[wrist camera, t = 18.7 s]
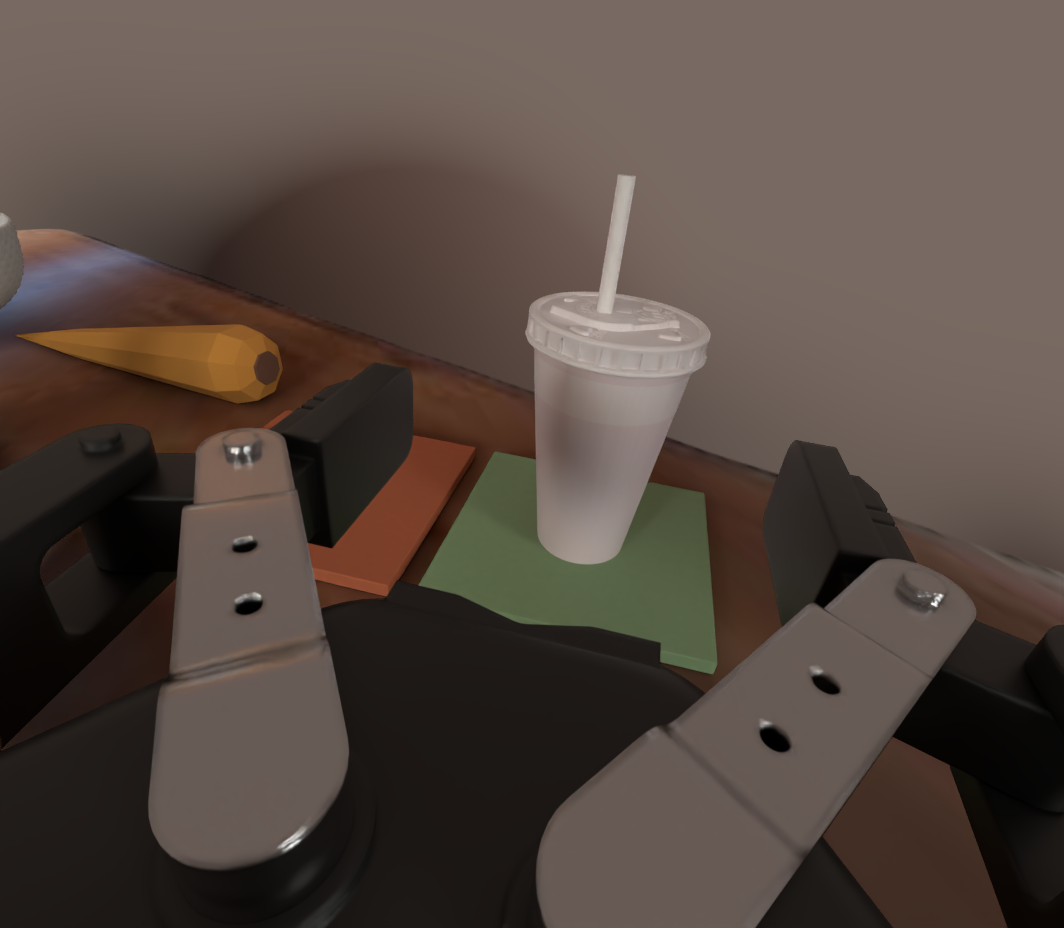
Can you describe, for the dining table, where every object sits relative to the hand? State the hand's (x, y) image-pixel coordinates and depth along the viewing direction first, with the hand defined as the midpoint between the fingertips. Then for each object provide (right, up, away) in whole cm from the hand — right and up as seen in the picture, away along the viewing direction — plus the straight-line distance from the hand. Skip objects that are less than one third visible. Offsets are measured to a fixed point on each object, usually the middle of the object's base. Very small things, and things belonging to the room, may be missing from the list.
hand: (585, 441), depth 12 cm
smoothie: (+1, -4, +13) cm, 13 cm away
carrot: (-26, +5, +24) cm, 35 cm away
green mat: (+1, -4, +13) cm, 14 cm away
